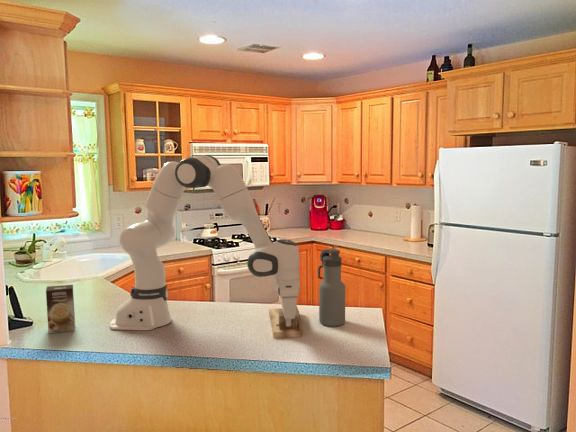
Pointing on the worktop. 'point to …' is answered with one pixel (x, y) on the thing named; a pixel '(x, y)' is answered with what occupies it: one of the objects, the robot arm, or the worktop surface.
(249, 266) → the robot arm
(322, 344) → the worktop surface
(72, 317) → the coffee box
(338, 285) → the water bottle
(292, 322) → the brown block
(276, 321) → the board
